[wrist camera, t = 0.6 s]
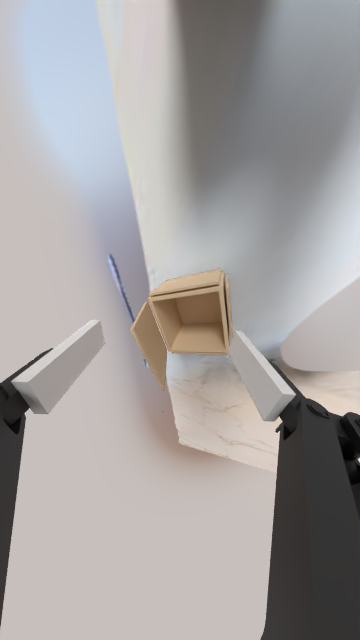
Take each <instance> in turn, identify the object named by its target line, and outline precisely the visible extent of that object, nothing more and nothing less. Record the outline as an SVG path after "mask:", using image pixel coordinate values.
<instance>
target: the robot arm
mask: <svg viewBox="0 0 360 640" xmlns="http://www.w3.org/2000/svg"><path fill="white" fill-rule="evenodd" d="M104 344H105V342H104V336H103V331H102V326H101V322H100V320H91V321H89V322H88V323H87V324H85V325H84V326H83V327H81V328H80V329H79V330H78V331H76V332H75V333H74V334H72V335H71V336H70V337H68V338H67V339H66V340H64V341H63V342H62V343H60V345H58V346H57V347H55V348H54V349H53V348H52V349H50V350H47V351H45V352H43V353H42V354H40V355H39V356H37V357H36V358H35V359H34V360H32V361H31V362H29V363H28V364H27V365H25V366H24V367H22V368H21V369H20V370H18V371H17V372H15V373H14V374H13V375H11V376H10V377H8V378H7V379H6V380H5V381H3V382H2V383H0V626H1V618H2V609H3V601H4V593H5V585H6V576H7V568H8V559H9V552H10V543H11V535H12V527H13V518H14V511H15V502H16V494H17V485H18V478H19V470H20V461H21V452H22V445H23V437H24V428H25V420H26V417H25V414H24V413H25V412H26V411H27V410H28V409H29V408H30V409H31V410H32V411H33V413H34V414H48V413H49V412H50V411H51V410H52V408H53V407H54V406H55V405H56V404H57V402H58V401H59V400H60V399H61V398H62V396H63V395H64V394H65V393H66V391H67V390H68V389H69V388H70V386H71V385H72V384H73V383H74V381H75V380H76V379H77V378H78V376H79V375H80V374H81V373H82V371H83V370H84V369H85V368H86V366H87V365H88V364H89V363H90V362H91V360H92V359H93V358H94V357H95V355H96V354H97V353H98V352H99V350H100V349H101V348H102V347H103V346H104ZM228 354H229V355H230V357H231V359H232V361H233V363H234V365H235V367H236V369H237V371H238V373H239V375H240V377H241V379H242V381H243V382H244V384H245V386H246V388H247V390H248V392H249V394H250V396H251V398H252V400H253V402H254V404H255V406H256V408H257V409H258V411H259V413H260V415H261V417H262V419H263V421H275V420H276V419H277V418H278V417H280V418H281V420H282V421H283V422H282V423H281V424H280V425H279V427H278V428H277V429H276V431H275V432H277V433H278V432H279V431H280V440H279V453H278V466H277V480H276V493H275V506H274V519H273V532H272V546H271V559H270V572H269V585H268V599H267V612H266V622H265V628H264V632H263V635H262V637H261V640H360V463H359V461H358V458H360V415H358V414H356V413H352V412H348V413H346V414H345V415H344V416H343V417H342V416H339V415H336V414H333V413H330V412H328V411H327V410H326V409H325V408H324V407H323V406H322V405H320V404H319V403H317V402H315V401H313V400H311V399H308V398H305V397H304V396H303V394H302V393H301V392H300V391H299V390H298V389H297V388H296V387H295V386H294V384H293V383H292V382H291V381H290V380H289V379H287V377H286V375H285V374H283V372H282V371H281V370H280V369H279V368H278V367H277V366H276V365H275V364H273V363H272V362H269V361H267V360H266V359H265V357H264V356H263V355H262V354H261V353H260V351H259V350H258V349H257V348H256V347H255V346H254V344H253V343H252V342H251V341H250V340H249V339H248V337H247V336H246V335H245V334H244V333H243V331H235V332H234V334H233V337H232V340H231V343H230V346H229V349H228Z"/></svg>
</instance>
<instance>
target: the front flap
mask: <svg viewBox="0 0 360 640" xmlns="http://www.w3.org/2000/svg"><path fill="white" fill-rule="evenodd" d="M130 331H131V333H132V335H133V337H134V339H135V340H136V342H137V344H138V346H139V348H140V350H141V352H142V353H143V355H144V357H145V359H146V361H147V363H148V365H149V367H150V369H151V370H152V372H153V374H154V376H155V378H156V380H157V382H158V384H159V385H160V387H161V389H162V391H164V390H165V378H166V361H167V348H166V346H165V343H164V341H163V338H162V336H161V333H160V331H159V328H158V326H157V324H156V321H155V319H154V316H153V314H152V311H151V309H150V306H149V304H148V301H146V302H145V303H144V305H143V307H142V309H141V311H140V312H139V314H138V316H137V318H136V320H135V321H134V323H133V325H132V327H131V329H130Z"/></svg>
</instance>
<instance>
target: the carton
mask: <svg viewBox="0 0 360 640" xmlns="http://www.w3.org/2000/svg"><path fill="white" fill-rule="evenodd" d="M149 295H150V297H149V298H148V301H149V303H150V306H151V308H152V311H153V313H154V316H155V318H156V321H157V323H158V326H159V328H160V331H161V333H162V336H163V338H164V341H165V343H166V346H167V348H168V351H170V352H172V353H173V354H213V355H227V353H228V349H229V346H230V343H229V326H230V337H231V340H232V337H233V330H232V317H231V305H230V293H229V281H228V274H226V289H225V279H224V270H223V271H221V269H216V270H212V271H207V272H202V273H198V274H193V275H188V276H184V277H179V278H174V279H170V280H166V281H165V282H164V283H162V284H161V285H160V286H158V287H157V288H156V289H154V290H153V291H152V292H150V293H149ZM226 295H227V300H226ZM227 305H228V310H227ZM228 316H229V320H228Z"/></svg>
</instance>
